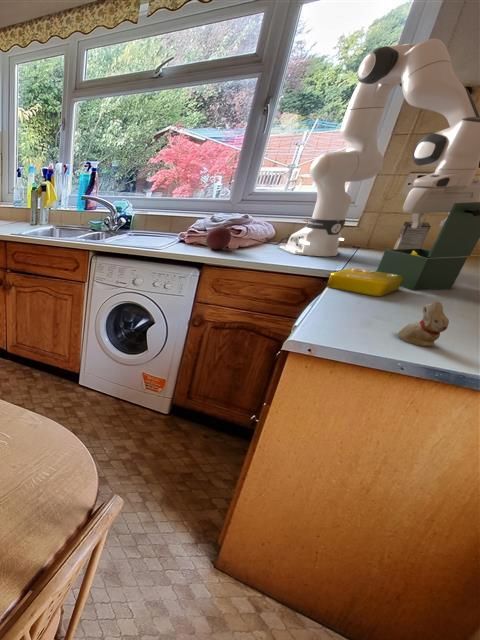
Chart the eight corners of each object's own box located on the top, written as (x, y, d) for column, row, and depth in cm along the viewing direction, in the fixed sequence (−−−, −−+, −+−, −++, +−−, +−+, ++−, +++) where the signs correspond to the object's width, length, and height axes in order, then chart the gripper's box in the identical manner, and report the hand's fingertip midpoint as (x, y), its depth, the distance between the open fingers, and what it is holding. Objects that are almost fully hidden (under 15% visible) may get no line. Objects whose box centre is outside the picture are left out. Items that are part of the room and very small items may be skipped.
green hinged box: (373, 278, 150) (385, 249, 145) (408, 277, 150) (421, 248, 145) (413, 289, 137) (427, 258, 132) (451, 288, 137) (467, 257, 132)
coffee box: (385, 265, 164) (404, 221, 157) (408, 267, 161) (428, 222, 153) (387, 270, 158) (406, 224, 151) (410, 272, 155) (432, 225, 147)
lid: (454, 202, 125) (472, 205, 120) (496, 201, 125) (516, 203, 121) (427, 256, 132) (443, 260, 128) (467, 255, 133) (484, 259, 128)
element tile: (323, 286, 143) (328, 272, 140) (345, 279, 149) (350, 265, 147) (379, 297, 131) (386, 281, 129) (400, 289, 138) (407, 274, 136)
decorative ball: (206, 251, 196) (212, 228, 191) (201, 247, 205) (206, 225, 200) (230, 251, 194) (236, 228, 189) (224, 247, 202) (229, 225, 198)
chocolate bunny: (407, 345, 100) (428, 304, 95) (394, 334, 106) (413, 294, 101) (438, 349, 98) (461, 306, 93) (423, 336, 104) (444, 296, 99)
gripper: (473, 177, 133) (451, 224, 140) (409, 180, 133) (389, 227, 140) (496, 178, 128) (472, 227, 134) (429, 181, 127) (408, 230, 134)
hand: (429, 227), depth 137 cm, fingers open, 8 cm apart
